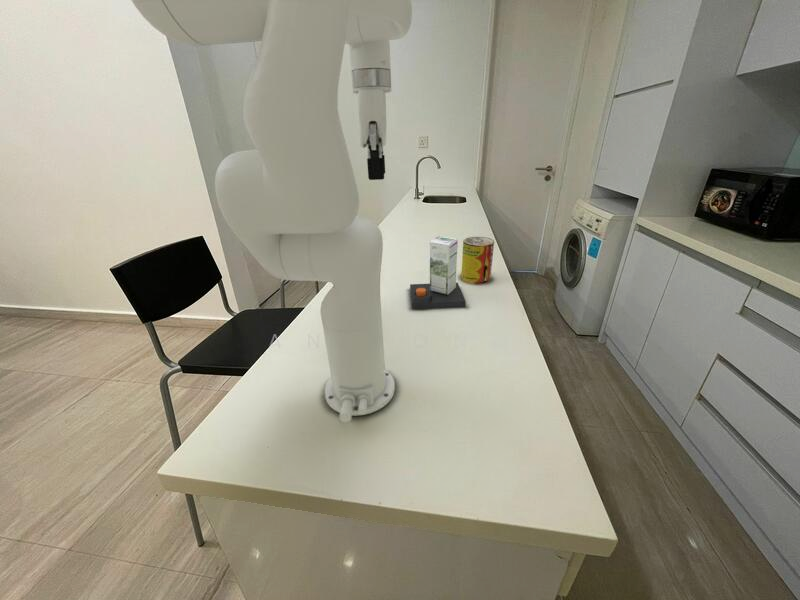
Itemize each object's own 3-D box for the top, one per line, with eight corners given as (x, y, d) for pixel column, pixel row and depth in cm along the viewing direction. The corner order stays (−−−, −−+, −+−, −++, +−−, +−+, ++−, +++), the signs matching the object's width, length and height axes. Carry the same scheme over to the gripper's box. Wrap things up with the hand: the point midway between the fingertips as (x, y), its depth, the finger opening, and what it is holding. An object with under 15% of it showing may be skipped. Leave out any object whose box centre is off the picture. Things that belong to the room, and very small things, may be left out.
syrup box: (456, 287, 94) (458, 237, 87) (447, 295, 89) (449, 244, 83) (438, 283, 96) (439, 235, 90) (428, 291, 92) (429, 241, 85)
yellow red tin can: (470, 285, 99) (473, 247, 93) (456, 275, 107) (457, 238, 101) (496, 281, 101) (500, 243, 96) (480, 270, 109) (483, 235, 104)
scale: (465, 308, 86) (466, 296, 85) (411, 310, 86) (411, 298, 85) (457, 288, 98) (457, 277, 96) (409, 290, 98) (409, 279, 96)
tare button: (426, 297, 86) (426, 291, 86) (416, 297, 86) (416, 292, 86) (425, 292, 89) (425, 287, 88) (415, 293, 89) (415, 287, 88)
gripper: (356, 89, 72) (363, 173, 80) (346, 77, 56) (356, 182, 64) (391, 88, 72) (394, 171, 80) (390, 75, 56) (394, 181, 64)
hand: (377, 176), depth 72 cm, fingers open, 9 cm apart
